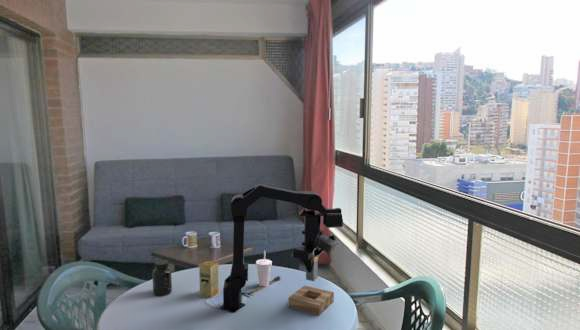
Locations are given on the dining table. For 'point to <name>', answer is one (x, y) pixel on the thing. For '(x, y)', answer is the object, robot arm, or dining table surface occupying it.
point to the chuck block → (311, 299)
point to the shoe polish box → (208, 278)
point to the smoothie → (263, 271)
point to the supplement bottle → (162, 279)
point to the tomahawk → (260, 287)
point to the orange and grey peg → (313, 270)
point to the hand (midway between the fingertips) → (311, 270)
